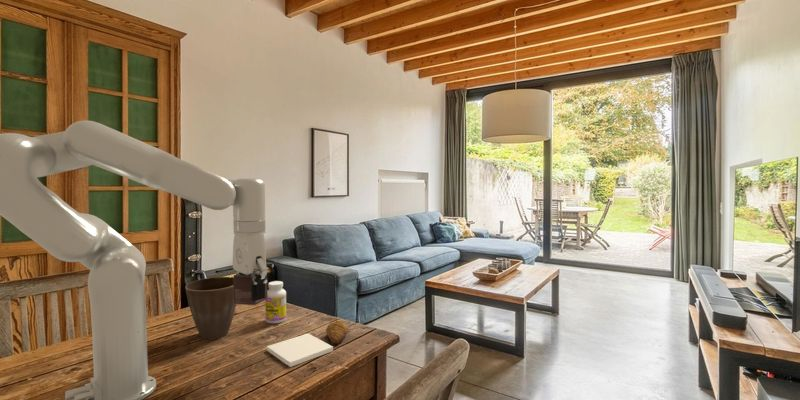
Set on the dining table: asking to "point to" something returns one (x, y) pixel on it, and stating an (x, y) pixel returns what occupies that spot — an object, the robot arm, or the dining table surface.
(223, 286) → the plant pot
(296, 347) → the tile
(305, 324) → the dining table surface
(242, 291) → the box
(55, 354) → the dining table surface
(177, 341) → the dining table surface
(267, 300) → the supplement bottle
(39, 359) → the dining table surface
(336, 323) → the croissant
